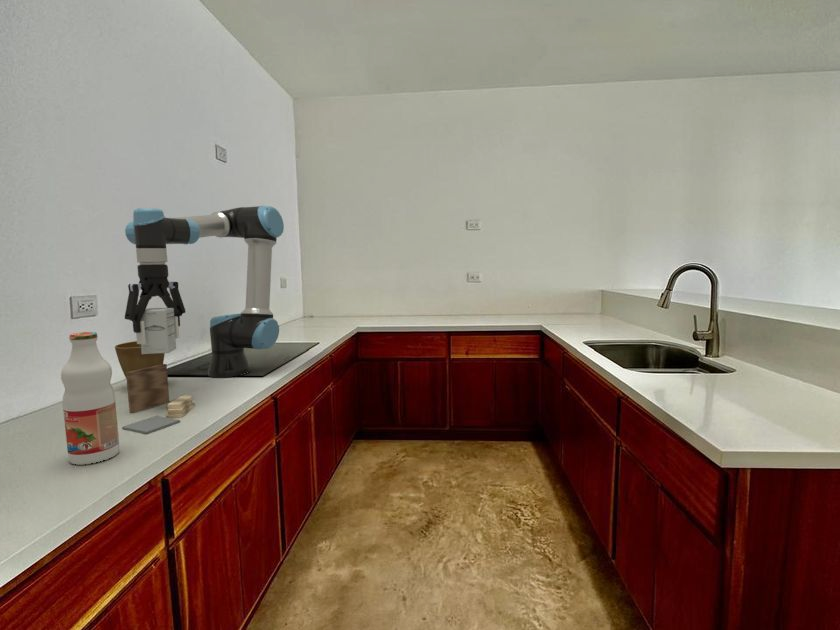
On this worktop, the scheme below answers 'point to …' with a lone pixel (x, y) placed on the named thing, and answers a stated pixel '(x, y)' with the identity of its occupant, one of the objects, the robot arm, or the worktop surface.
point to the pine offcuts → (180, 406)
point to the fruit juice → (89, 403)
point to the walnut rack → (147, 387)
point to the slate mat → (151, 424)
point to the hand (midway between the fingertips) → (158, 340)
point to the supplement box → (159, 330)
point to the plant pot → (136, 357)
